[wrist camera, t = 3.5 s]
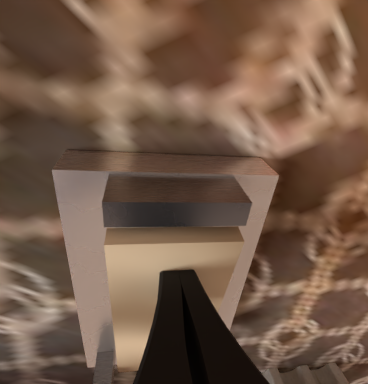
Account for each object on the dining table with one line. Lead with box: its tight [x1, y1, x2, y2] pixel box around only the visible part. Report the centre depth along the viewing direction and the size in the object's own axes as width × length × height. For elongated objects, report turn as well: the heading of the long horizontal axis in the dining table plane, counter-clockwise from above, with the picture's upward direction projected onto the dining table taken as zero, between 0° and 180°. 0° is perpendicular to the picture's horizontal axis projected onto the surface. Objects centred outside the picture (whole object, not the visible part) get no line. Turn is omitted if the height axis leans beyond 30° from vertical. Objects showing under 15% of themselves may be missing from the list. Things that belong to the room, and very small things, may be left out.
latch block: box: [52, 150, 279, 384], centre depth 13 cm, size 14×9×4 cm, turn 175°
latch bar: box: [104, 226, 245, 373], centre depth 13 cm, size 12×5×1 cm, turn 175°
